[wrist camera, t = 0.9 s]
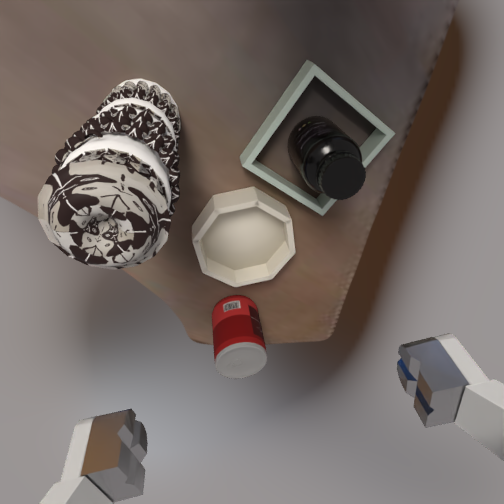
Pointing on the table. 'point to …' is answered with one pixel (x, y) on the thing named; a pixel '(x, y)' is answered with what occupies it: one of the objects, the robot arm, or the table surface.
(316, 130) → the supplement bottle
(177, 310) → the table surface
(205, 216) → the bowl
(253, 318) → the canned food
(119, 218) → the decorative candle
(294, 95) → the tray
